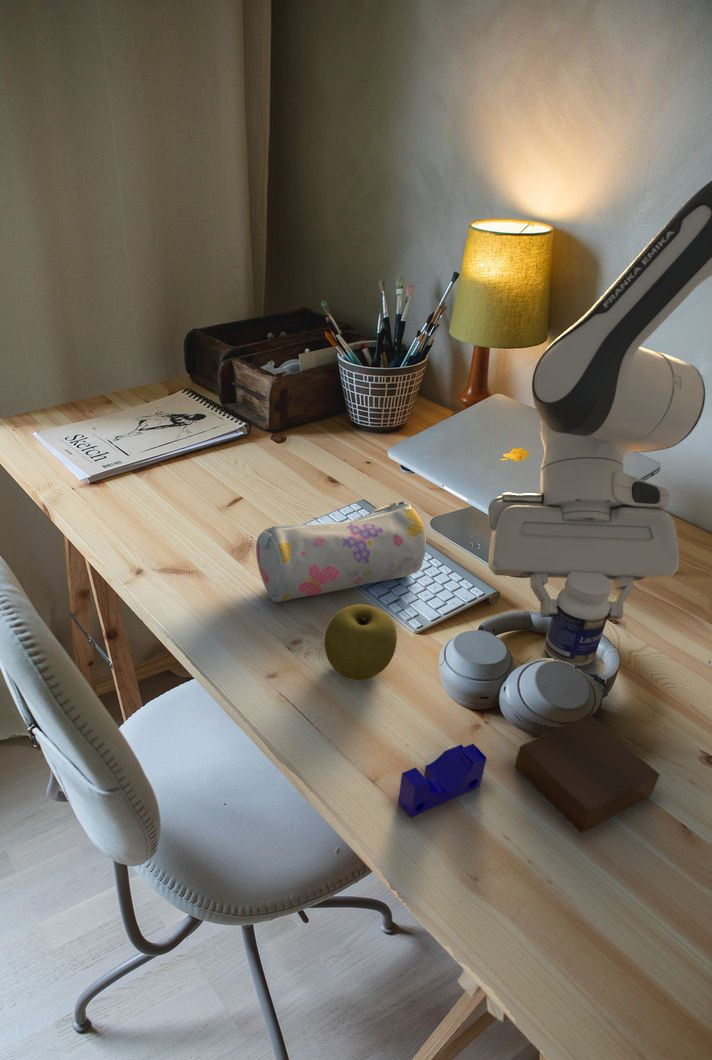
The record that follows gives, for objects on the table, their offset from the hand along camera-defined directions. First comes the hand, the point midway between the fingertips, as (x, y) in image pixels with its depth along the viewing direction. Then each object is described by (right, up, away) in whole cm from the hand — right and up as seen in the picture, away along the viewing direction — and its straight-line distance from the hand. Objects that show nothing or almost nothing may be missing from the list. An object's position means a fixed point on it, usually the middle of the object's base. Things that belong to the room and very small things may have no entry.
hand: (581, 617), depth 91 cm
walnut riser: (-4, -16, -12) cm, 20 cm away
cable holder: (-18, -16, -13) cm, 28 cm away
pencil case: (-26, +4, +14) cm, 30 cm away
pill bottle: (0, -4, +4) cm, 6 cm away
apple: (-25, -6, +1) cm, 25 cm away
